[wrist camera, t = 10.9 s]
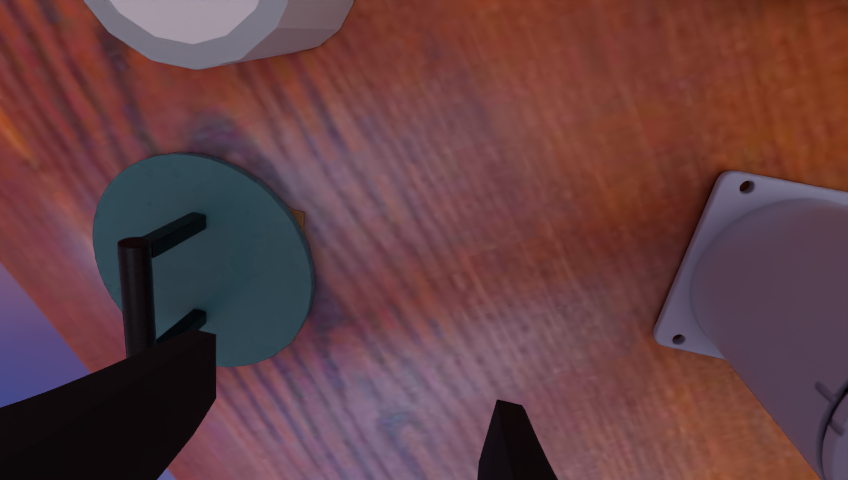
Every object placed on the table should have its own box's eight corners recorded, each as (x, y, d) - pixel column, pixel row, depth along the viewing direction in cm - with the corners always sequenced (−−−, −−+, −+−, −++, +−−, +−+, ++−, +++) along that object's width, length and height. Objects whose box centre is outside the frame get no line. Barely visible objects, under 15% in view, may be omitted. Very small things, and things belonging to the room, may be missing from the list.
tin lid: (330, 176, 20) (273, 215, 15) (310, 374, 24) (260, 459, 19) (100, 128, 21) (-30, 149, 16) (118, 328, 25) (19, 398, 20)
